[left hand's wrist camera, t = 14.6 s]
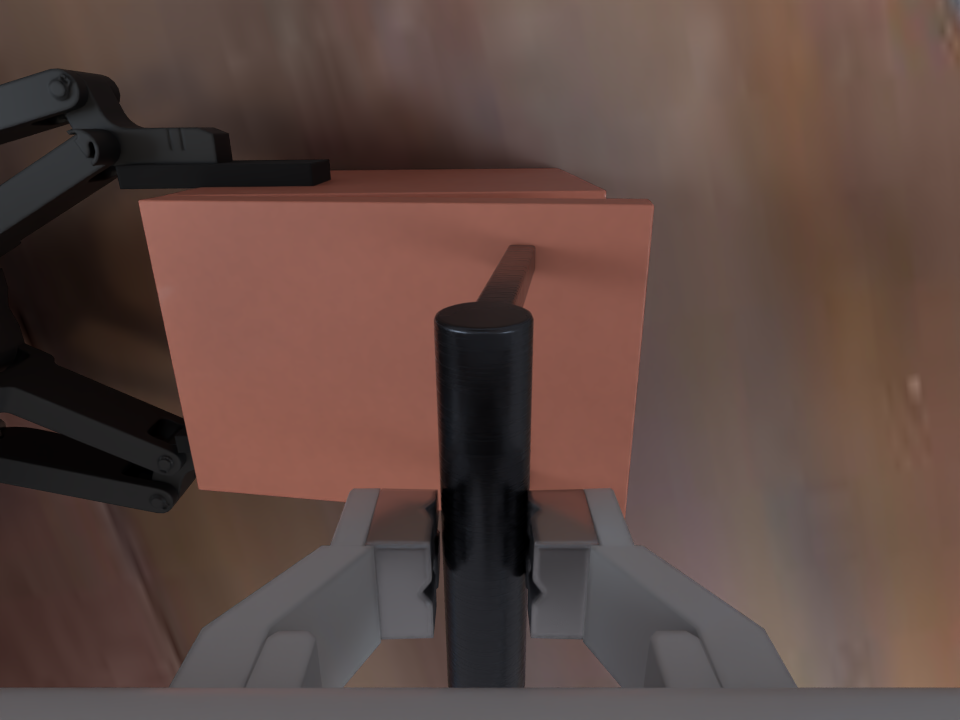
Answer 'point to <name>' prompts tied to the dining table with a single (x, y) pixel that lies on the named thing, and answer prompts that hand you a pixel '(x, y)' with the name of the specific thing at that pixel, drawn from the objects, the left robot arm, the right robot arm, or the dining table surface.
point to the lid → (412, 365)
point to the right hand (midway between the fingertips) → (335, 309)
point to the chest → (429, 185)
